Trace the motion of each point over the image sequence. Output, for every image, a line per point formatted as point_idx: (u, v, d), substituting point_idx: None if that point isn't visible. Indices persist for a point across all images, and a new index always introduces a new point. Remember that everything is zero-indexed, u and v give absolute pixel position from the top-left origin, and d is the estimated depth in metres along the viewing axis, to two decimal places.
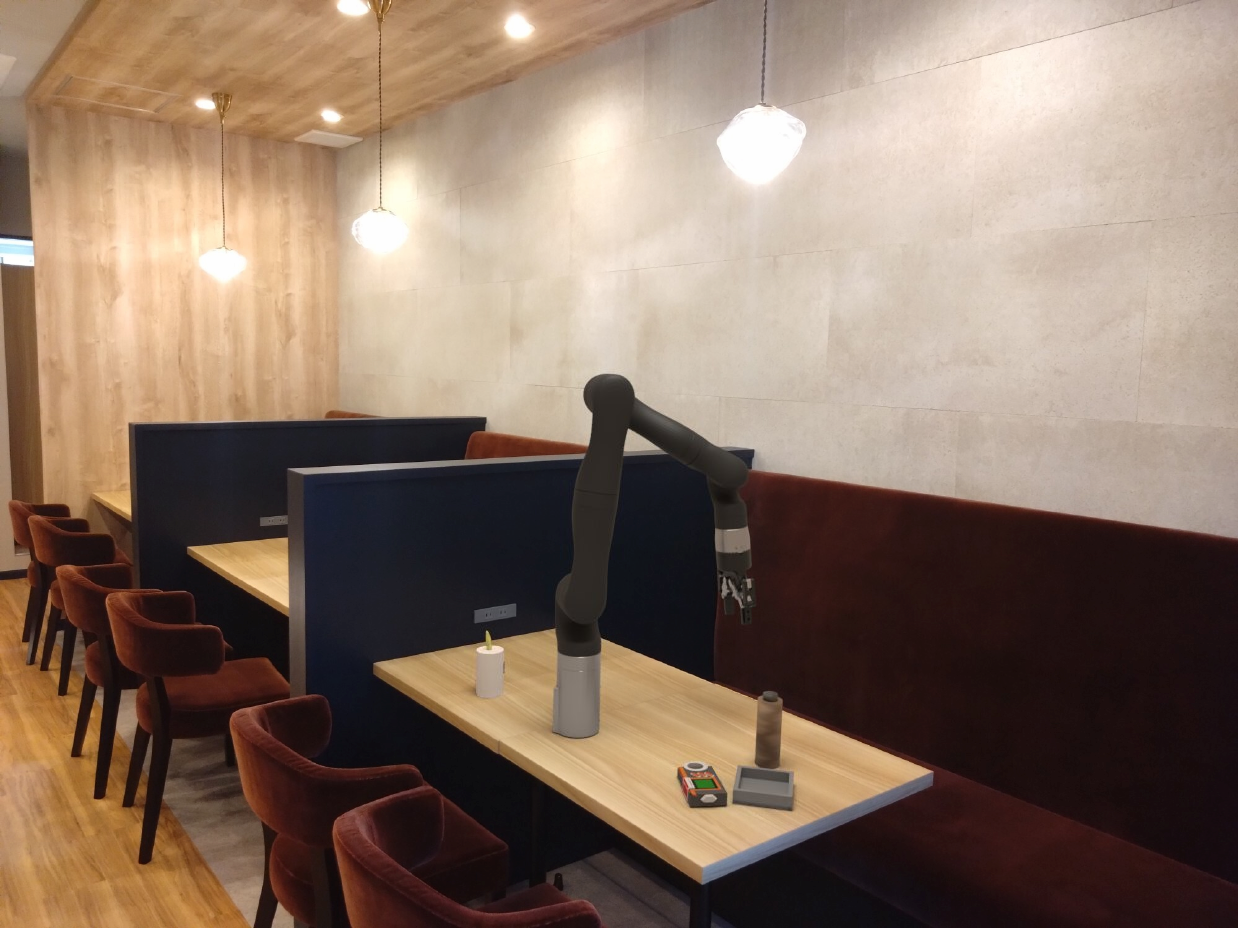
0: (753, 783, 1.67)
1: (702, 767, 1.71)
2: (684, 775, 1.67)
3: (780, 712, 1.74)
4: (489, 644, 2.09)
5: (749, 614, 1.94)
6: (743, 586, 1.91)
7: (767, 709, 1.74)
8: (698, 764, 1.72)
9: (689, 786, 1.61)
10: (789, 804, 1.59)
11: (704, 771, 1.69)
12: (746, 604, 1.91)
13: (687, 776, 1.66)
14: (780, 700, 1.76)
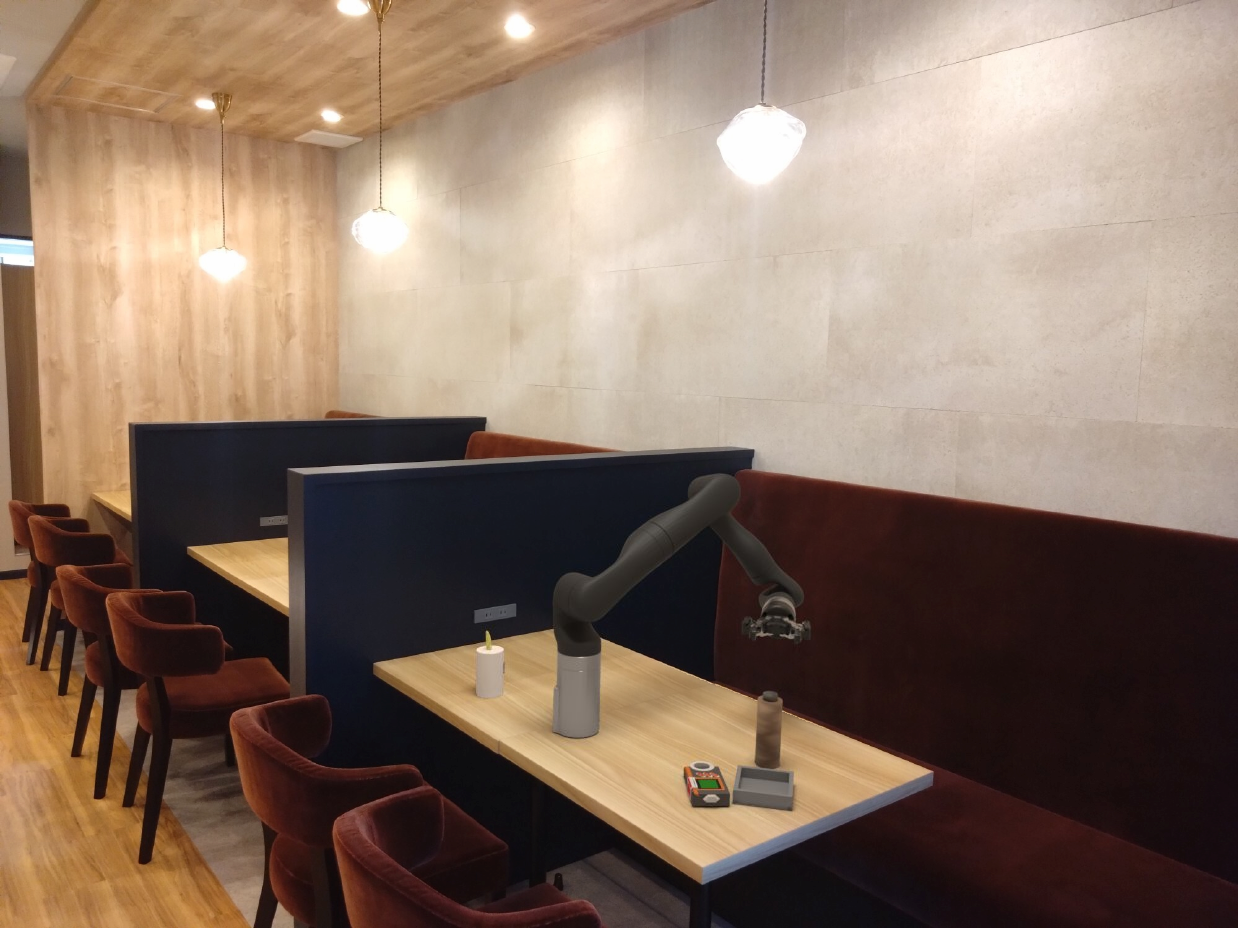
0: (753, 783, 1.67)
1: (708, 767, 1.70)
2: (689, 775, 1.67)
3: (780, 712, 1.74)
4: (489, 644, 2.09)
5: None
6: (807, 622, 1.93)
7: (767, 709, 1.74)
8: (705, 764, 1.72)
9: (692, 785, 1.61)
10: (789, 804, 1.59)
11: (710, 771, 1.69)
12: None
13: (692, 776, 1.66)
14: (780, 700, 1.76)
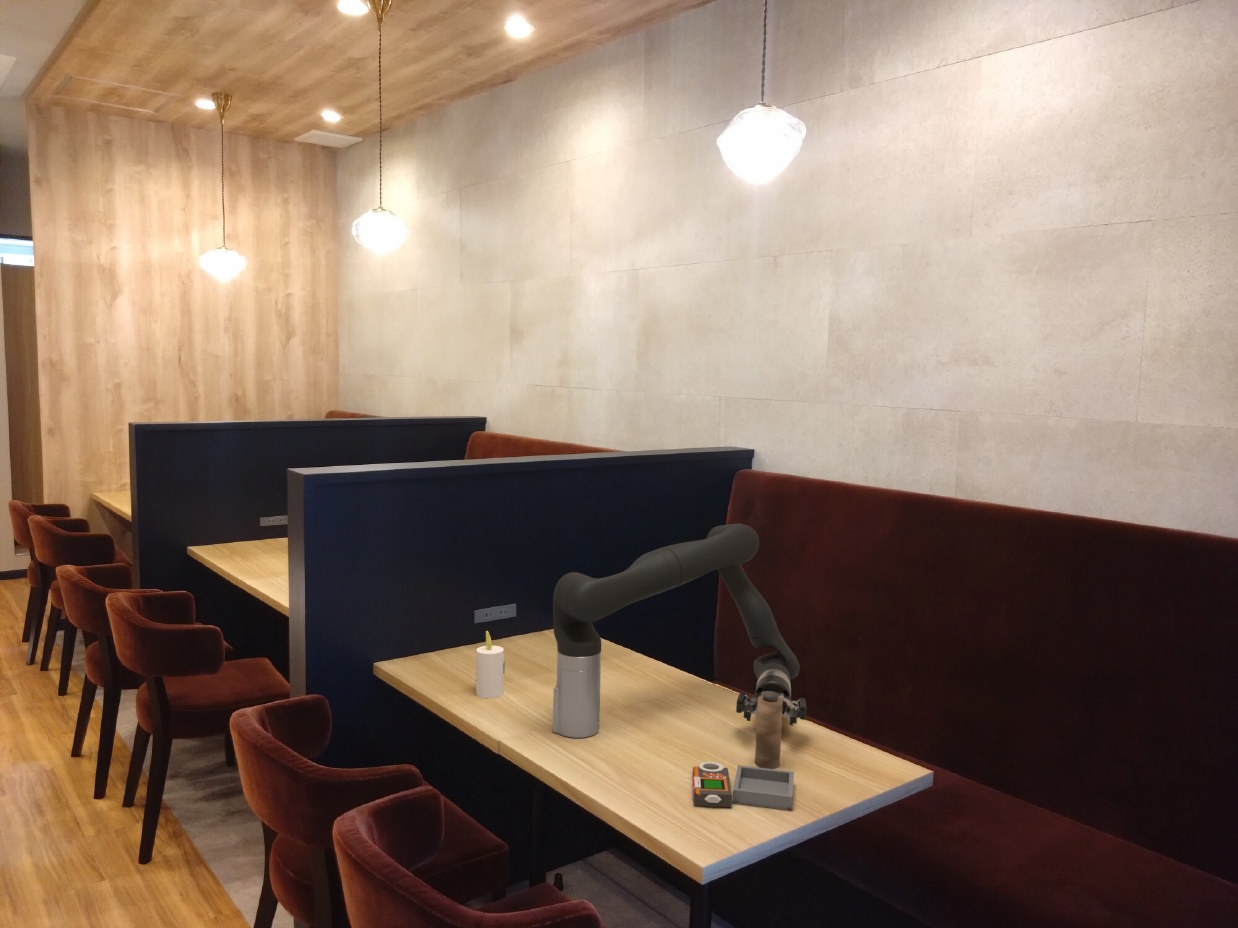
0: (753, 783, 1.67)
1: (717, 768, 1.70)
2: (695, 774, 1.67)
3: (780, 712, 1.74)
4: (489, 644, 2.09)
5: None
6: (803, 700, 1.89)
7: (767, 709, 1.74)
8: (715, 765, 1.72)
9: (695, 785, 1.61)
10: (789, 804, 1.59)
11: (718, 772, 1.68)
12: None
13: (698, 775, 1.67)
14: (780, 700, 1.76)
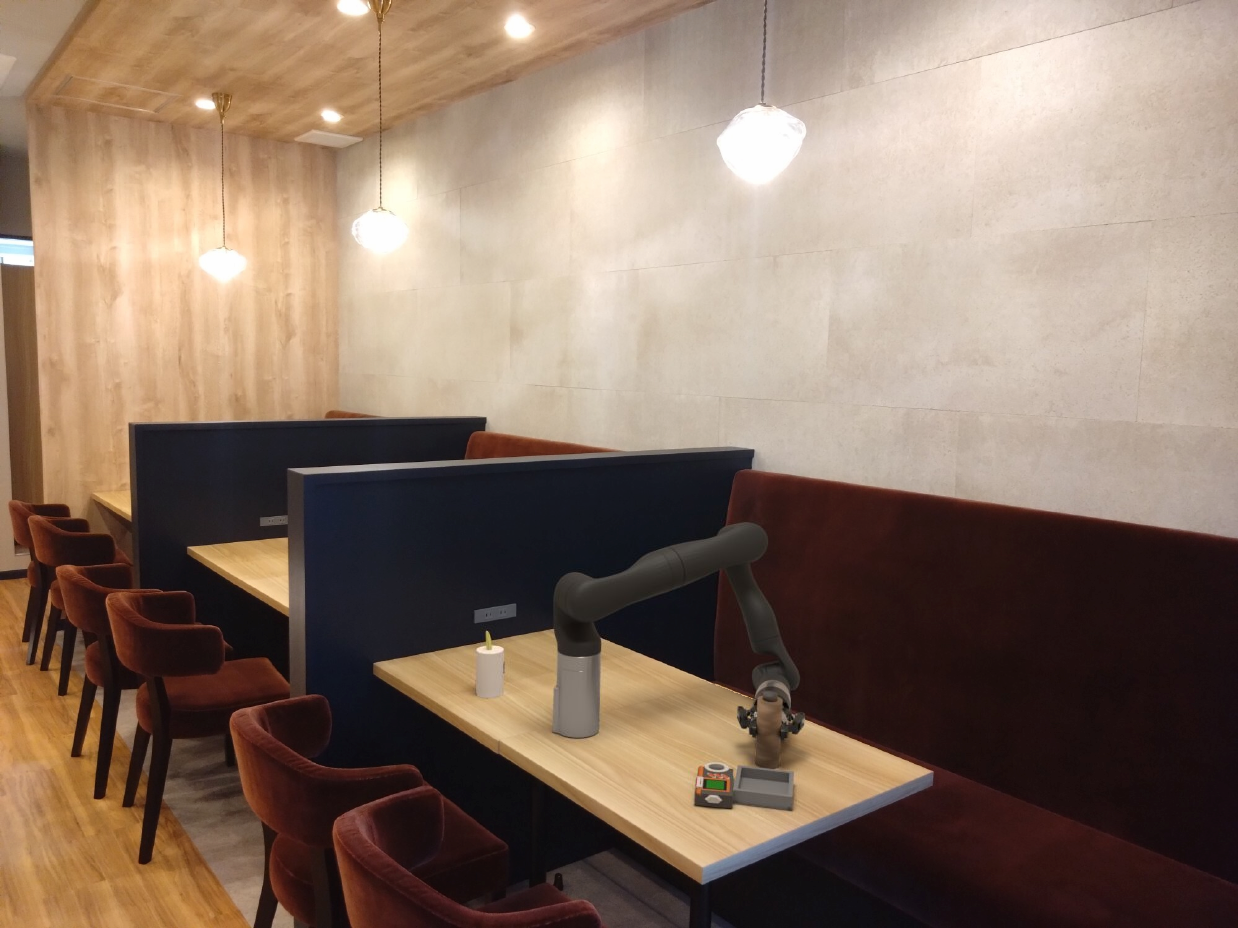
0: (753, 783, 1.67)
1: (723, 769, 1.70)
2: (699, 774, 1.67)
3: (779, 712, 1.74)
4: (489, 644, 2.09)
5: None
6: (801, 714, 1.81)
7: (767, 709, 1.74)
8: (721, 766, 1.72)
9: (697, 785, 1.62)
10: (789, 804, 1.59)
11: (722, 773, 1.68)
12: (797, 721, 1.78)
13: (702, 775, 1.67)
14: (780, 700, 1.76)
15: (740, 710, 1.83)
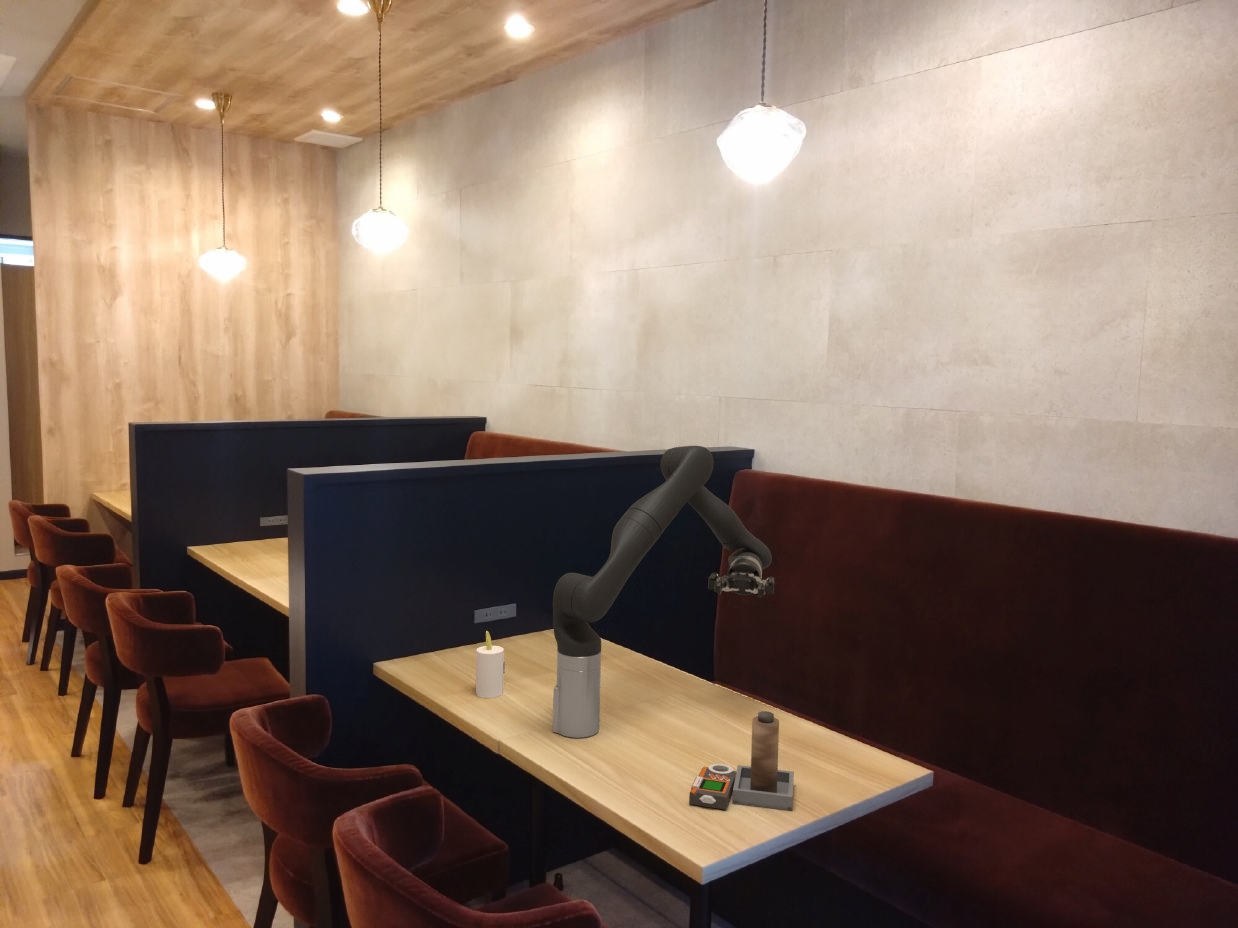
0: None
1: (726, 771, 1.69)
2: (700, 774, 1.67)
3: (776, 734, 1.62)
4: (489, 644, 2.09)
5: None
6: (772, 578, 1.99)
7: (762, 731, 1.61)
8: (726, 768, 1.71)
9: (694, 784, 1.62)
10: (789, 804, 1.59)
11: (724, 774, 1.68)
12: None
13: (703, 776, 1.67)
14: (776, 721, 1.63)
15: (712, 575, 2.00)
